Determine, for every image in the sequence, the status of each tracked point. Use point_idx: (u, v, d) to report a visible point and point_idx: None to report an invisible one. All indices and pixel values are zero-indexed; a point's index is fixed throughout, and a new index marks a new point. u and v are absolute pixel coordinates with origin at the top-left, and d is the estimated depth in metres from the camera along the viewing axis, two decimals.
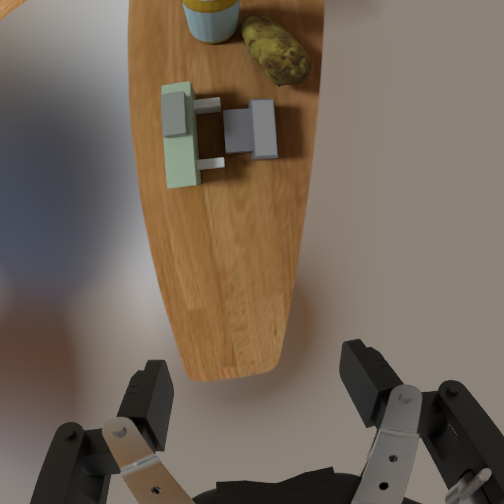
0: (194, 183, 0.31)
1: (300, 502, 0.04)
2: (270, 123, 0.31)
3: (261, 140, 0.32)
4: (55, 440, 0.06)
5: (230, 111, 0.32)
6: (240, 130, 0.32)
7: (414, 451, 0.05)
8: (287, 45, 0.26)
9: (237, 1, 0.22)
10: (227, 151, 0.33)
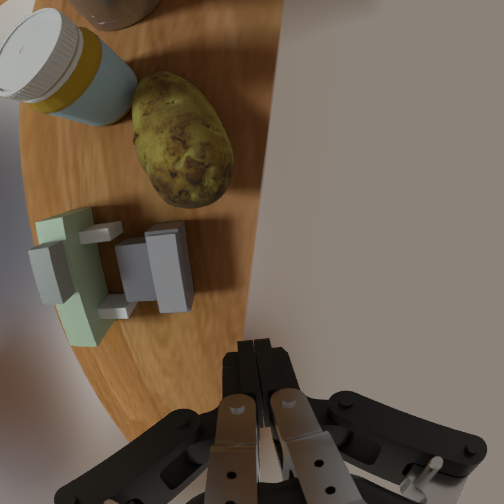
0: (95, 345, 0.23)
1: (300, 502, 0.04)
2: (174, 270, 0.23)
3: (164, 293, 0.24)
4: (164, 421, 0.07)
5: (123, 248, 0.23)
6: (139, 274, 0.24)
7: (335, 448, 0.06)
8: (182, 145, 0.18)
9: (96, 76, 0.14)
10: (128, 300, 0.25)
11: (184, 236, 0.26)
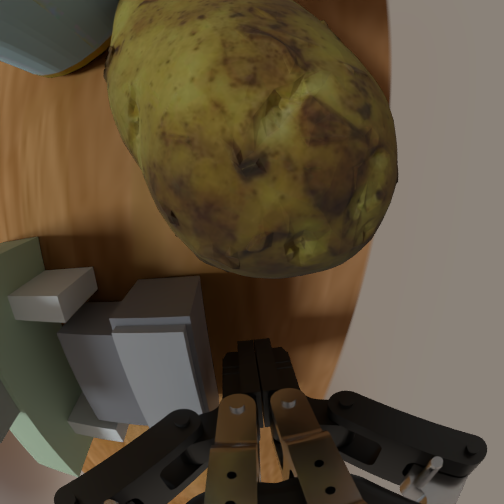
0: (74, 474, 0.09)
1: (300, 502, 0.04)
2: (184, 399, 0.09)
3: None
4: (164, 421, 0.07)
5: (74, 339, 0.09)
6: (112, 386, 0.10)
7: (335, 448, 0.06)
8: (290, 56, 0.04)
9: None
10: (101, 418, 0.11)
11: (201, 312, 0.12)
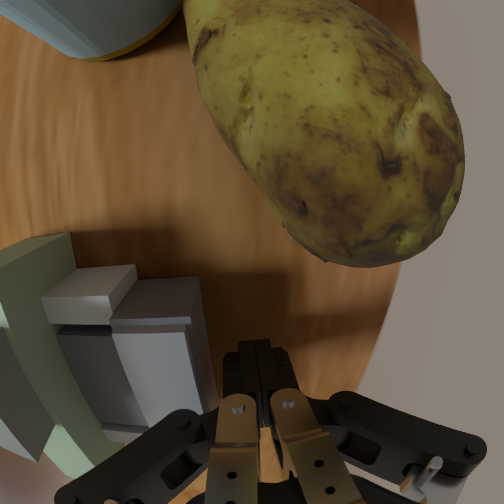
0: None
1: (300, 502, 0.04)
2: (185, 399, 0.09)
3: None
4: (164, 421, 0.07)
5: (73, 340, 0.09)
6: (112, 387, 0.10)
7: (334, 448, 0.06)
8: (410, 76, 0.04)
9: None
10: (101, 419, 0.11)
11: (200, 312, 0.12)
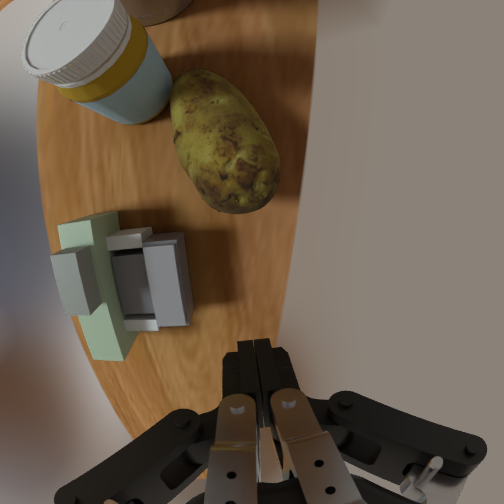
0: (121, 359, 0.22)
1: (300, 502, 0.04)
2: (172, 282, 0.22)
3: (162, 306, 0.23)
4: (164, 421, 0.07)
5: (120, 258, 0.22)
6: (136, 285, 0.23)
7: (335, 448, 0.06)
8: (234, 146, 0.17)
9: (141, 66, 0.13)
10: (125, 312, 0.24)
11: (183, 247, 0.25)
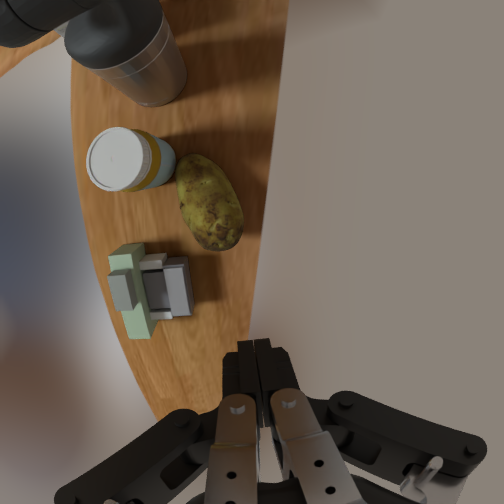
0: (148, 337, 0.37)
1: (300, 502, 0.04)
2: (181, 289, 0.37)
3: (175, 303, 0.38)
4: (164, 421, 0.07)
5: (148, 275, 0.37)
6: (158, 291, 0.38)
7: (335, 448, 0.06)
8: (214, 217, 0.32)
9: (158, 171, 0.28)
10: (151, 308, 0.39)
11: (187, 266, 0.40)
